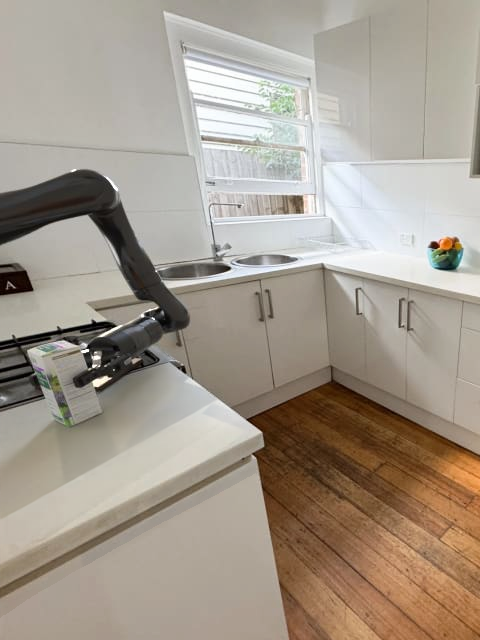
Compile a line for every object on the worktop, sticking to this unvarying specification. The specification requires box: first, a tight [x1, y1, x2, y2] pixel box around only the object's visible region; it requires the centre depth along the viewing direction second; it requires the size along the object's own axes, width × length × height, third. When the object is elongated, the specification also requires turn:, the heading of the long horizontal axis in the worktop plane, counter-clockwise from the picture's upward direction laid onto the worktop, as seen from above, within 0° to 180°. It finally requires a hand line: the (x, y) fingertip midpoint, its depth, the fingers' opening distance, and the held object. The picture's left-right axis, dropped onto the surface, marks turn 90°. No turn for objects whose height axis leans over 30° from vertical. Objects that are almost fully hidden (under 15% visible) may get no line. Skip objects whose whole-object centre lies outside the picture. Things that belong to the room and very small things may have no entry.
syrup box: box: [26, 339, 103, 428], centre depth 70 cm, size 6×6×14 cm
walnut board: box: [33, 357, 144, 392], centre depth 88 cm, size 14×14×1 cm
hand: (54, 382), depth 68 cm, fingers closed on syrup box, 7 cm apart
